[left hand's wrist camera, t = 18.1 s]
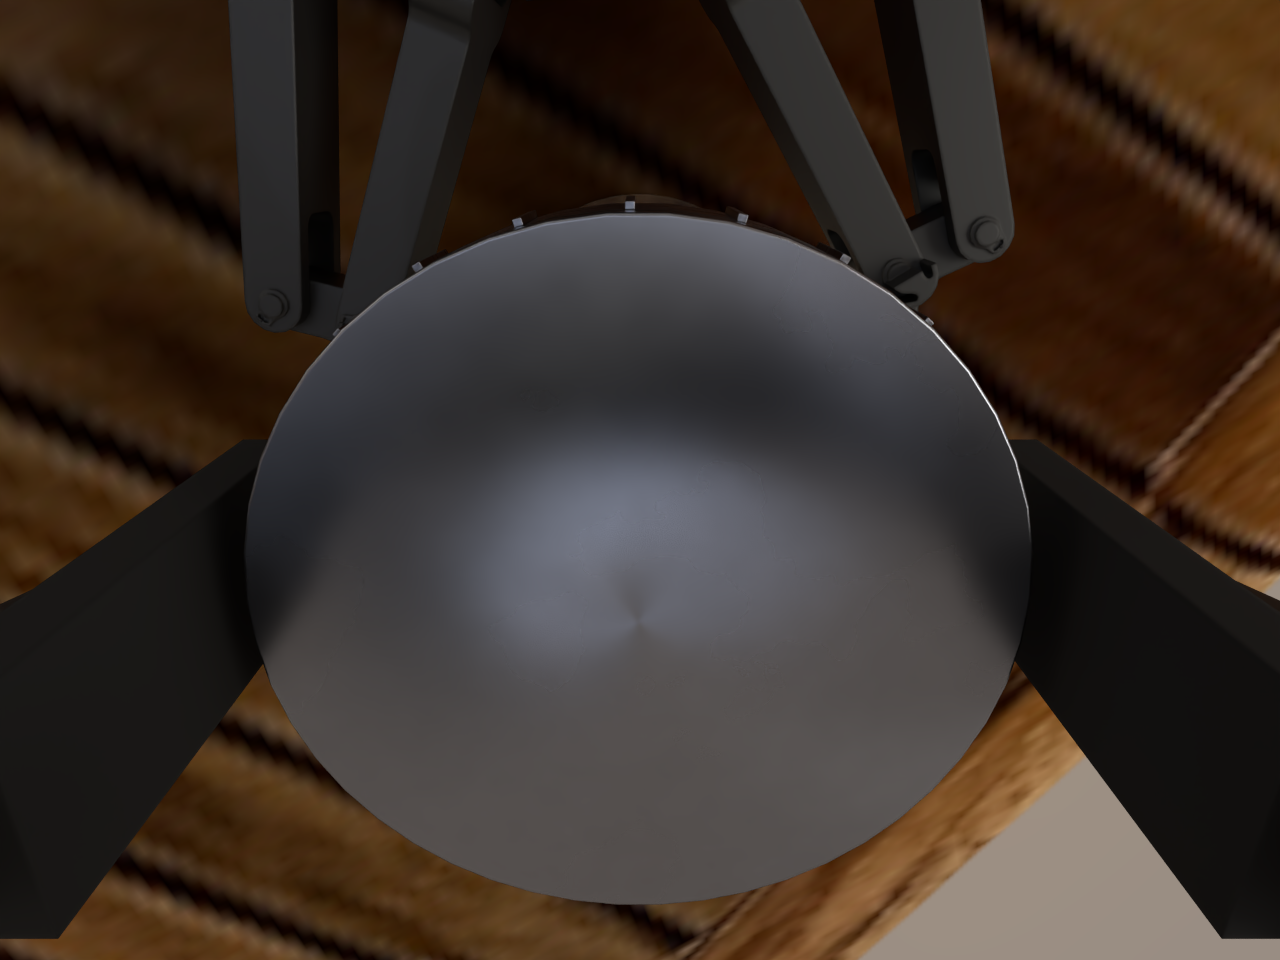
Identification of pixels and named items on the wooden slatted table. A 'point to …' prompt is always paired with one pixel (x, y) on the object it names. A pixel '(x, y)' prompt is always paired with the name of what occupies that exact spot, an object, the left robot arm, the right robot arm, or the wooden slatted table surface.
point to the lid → (638, 555)
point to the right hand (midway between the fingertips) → (656, 570)
